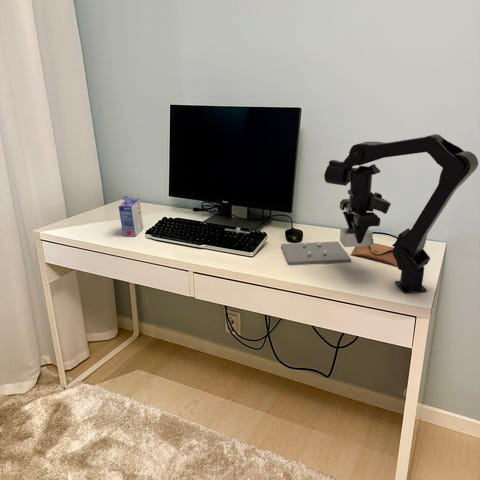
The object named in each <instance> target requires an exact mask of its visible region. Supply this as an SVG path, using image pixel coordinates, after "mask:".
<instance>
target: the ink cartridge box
mask: <svg viewBox="0 0 480 480" xmlns="http://www.w3.org/2000/svg"><path fill="white" fill-rule="evenodd" d="M122 199H123V200H124V201H123V202H122V203H120V204H119V206H118V211H119V217H120V219H119V220H120V225H121V231H122V236H123V237H136V236H138V234H139V233H140V232H141V231H142V230H143V229H144V224H143V223H144V222H143V215H142V207H141V202H140V201H141V200H140V199H139V198H136V199H135V198H133V199H132V198H129V197H128V195H127V194H126V195H125V196H123V198H122Z"/></svg>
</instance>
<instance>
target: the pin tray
mask: <svg viewBox="0 0 480 480" xmlns="http://www.w3.org/2000/svg"><path fill="white" fill-rule="evenodd" d="M280 247H281V250H282V252H283V253H282V254H284V258H285V260H286V262H287V265H288V266H292V265H293V266H294V265H295V266H297V265H317V264H319V265H320V264H340V263H352V258H351V257H350V254H349V253H348V252H347V251H346V250H345V249H344V248H343V247H344V246H343V245H342V244H341V242H340V241H317V242H314V241H313V242H296V243H281V245H280Z"/></svg>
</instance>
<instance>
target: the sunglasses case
mask: <svg viewBox="0 0 480 480" xmlns="http://www.w3.org/2000/svg"><path fill="white" fill-rule="evenodd" d="M393 248H394V246H389V245H388V246H387V245H384V244H379V243H376V242H375V243H374V242H373V243H372V246H358V247H353V250H352V252H351V253H350V254H349V257H350V256H351V257H355V258H361V259H366V260H369V261H373V262H377V263H382V264H385V265H388V266H393V267H395V268H398V265H397V261H396V259H395V258H394V256H393V253H392V250H393Z"/></svg>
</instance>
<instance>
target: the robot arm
mask: <svg viewBox="0 0 480 480" xmlns="http://www.w3.org/2000/svg"><path fill="white" fill-rule="evenodd" d="M422 153H427V154H428V155H429V156H430V157H431V158H432V159H433V161H435V163H436V164H437V165H439V166H440V167H441V168H442V169H441V172H440V175H439V180H438V184H437V186H436V188H435V189H434V191H433V193H432V194H431V196H430V198H429V199H428V201H427V203H426V204H425V206H424V208H423V209H422V211H421V213H420V214H419V216H418V217H417V219H416V220H415V222H414V224H413V225H412V227H411V229H410V228H406V229H404V230H403V231H402V232H400V233H399V234H398V235H397V238H396V240H395V242H394V243H393V244H392V245H391V247H393V250H392V253H393V256H394V258H395V259H396V261H397V265H398V267H397V269H398V270H399V271H400V278H399V280H395V282H394V283H395V285H396V286H397V287H398V288H399V289H400V290H401V291H402V292H403V294H404V293H407V294H409V293H426V292H427V291H428V289H427V288H426V287H425V286H424V285H423V281H424V275H425V266H426V265H428V263H429V262H430V260H431V257H430V255H428V253H427V252H426V251H425V249H424V247H425V245H426V241H427V236H428V234H429V233H430V231H431V230H432V227H433V226H434V225H435V223H436V221H437V220H438V218H439V216H440V215H441V214H442V213H443V211H444V209H445V208H446V206H447V204H448V203H449V201H450V200H451V198H452V196H453V195H454V193H455V192H456V190H457V189H458V188H460V186H462V185H463V184H464V182H466V181H467V180H468V179H469V178H470V176H472V175H473V173H474V172H476V170H477V168H478V166H479V161H478V157H477V156H476V154H474V153H473V152H472V151H467V150H466V151H465V150H463V149H462V148H461V147H460V146H458V145H455V144H454V143H452V142H450V141H449V140H447V139H445V138H444V136H441V135H440V134H435V133H434V134H431V135H427V136H420V137H416V138H409V139H402V140H396V141H389V142H382V141H364V142H359V143H356V144H353V145H352V146H351V148H350V149H349V152H348V155H347V157H346V158H345V159H344V161H339V160H337V159H330V160H329V162H328V165H327V167H326V169H325V172H324V175H323V178H324V181H325V183H326V184H331V185H338V186H345V187H346V186H347V185H348V184H349V183H350V185H349V189H347V194H348V195H349V197H348V198H343V199H342V200H340V202H339V209H340V210H341V211H342V215H343V217H344V219H345V221H346V224H347V228H353V229H354V233H355V236H356V240H357V243H362V241H363V239H364V236H365V234H366V231H367V229H369V228H370V227H380V226H381V218H380V217H379V216H378V215H377V214H376V213H375V212H374V210H375V211H378V212H381V213H382V214H387V213H388V211H389V209H390V207H391V205H392V203H391V202H390V201H388V200H387V199H385V198H383V195H382V194H381V193H380V192H374V193H373V192H372V184H373V183H372V182H373V175H374V176H375V175H377V174H380V173H381V170H380V169H379V168H378V167H377V166H376V164H375V163H374V164H370V165H368V166H365V164H368V163H372V162H374V161H375V162H376V161H378V160H381V159H383V158H392V157H393V158H394V157H399V156H405V155H406V156H407V155H414V154H415V155H416V154H422ZM356 166H358V167H356ZM344 210H345V211H344Z"/></svg>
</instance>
